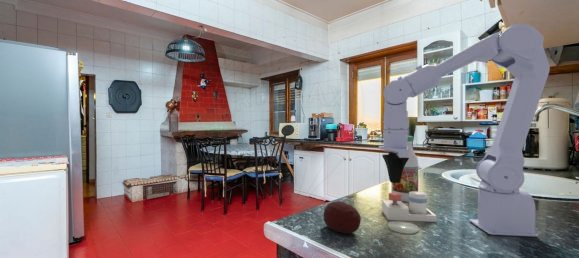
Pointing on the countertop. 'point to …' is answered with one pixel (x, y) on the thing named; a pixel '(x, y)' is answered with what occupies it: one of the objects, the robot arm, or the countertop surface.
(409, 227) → the pale green dome
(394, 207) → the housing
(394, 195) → the plunger
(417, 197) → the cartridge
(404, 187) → the milk bottle
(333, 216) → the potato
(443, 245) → the countertop surface
